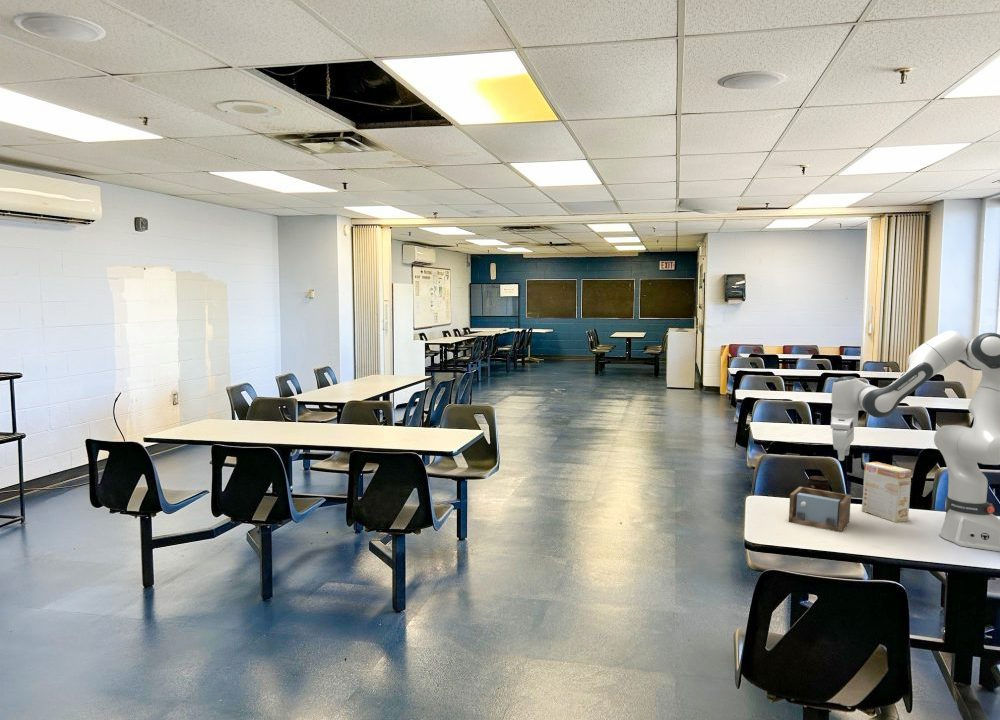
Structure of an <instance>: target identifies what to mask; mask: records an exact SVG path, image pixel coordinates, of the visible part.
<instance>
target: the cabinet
mask: <svg viewBox="0 0 1000 720" xmlns="http://www.w3.org/2000/svg"><path fill="white" fill-rule="evenodd" d="M798 493H804V494H810V495H816V496H822V497H827V498H833V499H839V500H840V506H839V523H838V526H834V519H831V518H826V524H823V523H818V522H813V521H807V520H804V518H805V514H804V513H799V512H797V518H796V507H797V494H798ZM851 499H852V494H848V493H847V494H846V493H840V492H833V491H830V490H829V491H823V490H817V489H811V488H808V487H804V486H798V487H797V488H796V489H795V490H793V491H792V492H791V493H789V505H788V506H789V509H788V510H789V511H788V523H793V524H798V525H802V526H808V527H813V528H819V529H823V530H828V529H829V530H828V531H833V530H834V531H833V532H838V531H840V532H839V533H842V532H843V531H844V530H845V529H846V528H847V526H848V525H849V524H850V517H851V516H850V515H851ZM848 523H849V524H848ZM847 524H848V525H847ZM845 527H846V528H845ZM844 528H845V529H844Z"/></svg>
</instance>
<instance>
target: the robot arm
mask: <svg viewBox="0 0 1000 720" xmlns="http://www.w3.org/2000/svg"><path fill="white" fill-rule="evenodd" d="M955 362H959V363H960V364H962V365H964V366H966V368H969V369H971V370H974V371H981V374H982V375H981V380H980V381H979V384H978V385H977V387H976V389H975V391H974V393H973V395H972V397H971V399H970V401H969V404H968V411H969V413H970V414H971V416H973V424H972V426H971V427H969V426H965V425H957V424H950V425H949V424H948V425H947V424H945V425H942V426H940V427H939V428H938V429H937V430H936V431H935V433H934V437H933V441H934V442H933V443H934V445H935V447H936V448H937V449H938V451H939V452H940V453H941V455H942V457H943V459H944V462H945V465H946V469H947V473H948V474H947V476H948V485H947V486H948V487H947V489H948V490H947V492H948V493H947V496H946V498H945V503H944V504H945V505H944V509H945V516H944V520H943V525H942V527H941V529H940V532H939V536H940V537H941V538H942V539H944V540H946V541H949V542H951V543H954V544H956V545H958V546H961V547H966V548H973V549H981V550H985V551H994V552H1000V519H999V518H998V517H997V516H996V515H995V514H993V513H995V507H994V505H993V503H989V501H987V498H988V497H987V495H988V487H989V486H988V485H989V484H988V479H987V476H986V475H985V474H984V473H983V472H982V471H981V468H980V467H979V465H978V464H981V465H992V466H999V465H1000V334H998V333H995V332H985V333H982V334H980V335H977V336H976V337H974V338H972V339H969V338H966V337H965V336H964V335H963V334H962V333H961V332H959V331H956V330H946V331H944V332H942V333H940V334H937V335H935V336H934V337H932V338H931V339H928V340H927V341H925V342H923V343H922V344H921V345H919V346H918V347H917V348H916V349H914V350H913V351H912V352H911V353H910V354H909V355H908V359H907V364H908V369H907V371H906V372H904V373H903V374H902V375H901V376H900V377H898V378H896V380H895V381H893V382H892V383H891V384H889V385H887V386H884V387H878V386H875V385H872V384H869V383H866V382H864V381H862V380H860V379H858V378H857V377H856V376H841V377H838V378H836V379H835V380H834V381H833V382H832V383H833V384H832V386H831V387H832V388H831V398H830V400H831V404H832V407H831V411H830V414H831V415H830V416H831V417H830V429H832V431H831V433H832V434H831V435H832V446H833V450H835V451H836V452H837V456H838V461H841V462H843V461H845V456H849V454H850V447H851V444H852V443H853V442H854V439H855V433H854V432H855V431H854V430H855V428H856V427H858V426H859V411H864V412H866V413H867V414H868V415H870V416H871V417H873V418H876V419H879V418H880V419H882V418H887V417H888V416H891V415H892V414H893V413H894V412H895V410H896V409H897V408H898V406H899V404H900V403H901V402H903V401H904V400H905V399H906V397H908V396H909V395H911V394H912V393H913V392H915V391H916V390H917V389H918V388H920V387H921V386H923V385H924V384H925V383H926V382H927V381H928V380H930V379H931V378H932V377H934V376H936V375H938V374H939V373H940V372H942V371H943V370H945V369H946V368H948V367H949V366H950V365H951V366H952V365H953V364H954V363H955Z"/></svg>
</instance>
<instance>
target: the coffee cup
mask: <svg viewBox="0 0 1000 720" xmlns="http://www.w3.org/2000/svg"><path fill="white" fill-rule="evenodd" d="M806 483H807V488H811V489H817V490H823V491H829V492H830V487H829V486H831V485H832V483H831V480H830V479H829V478H828V477H826V476H820V475H811V476H809V479H807V482H806Z"/></svg>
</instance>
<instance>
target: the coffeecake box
mask: <svg viewBox="0 0 1000 720" xmlns="http://www.w3.org/2000/svg"><path fill="white" fill-rule="evenodd" d="M911 479H912V470H911V469H908V468H904V467H900V466H896V465H891V464H887V463H883V462H879V461H872V462H865V463H864V472H863V487H862V500H861V501H862V502H861V511H862V510H864V511H866V512H869V513H871V514H870V515H872V514H874V515H873V516H875V515H877V516H876V517H878V516H879V518H881V517H883V518H882V519H884V518H885V520H887V519H889V520H888V521H890V520H891V521H890V522H893V521H895V522H894V523H899V522H898V521H901V522H907V521H906V520H908V521H909V512H910V498H911V496H910V495H911V485H912V484H911V481H912V480H911ZM866 512H865V513H866ZM869 513H868V514H869Z"/></svg>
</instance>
